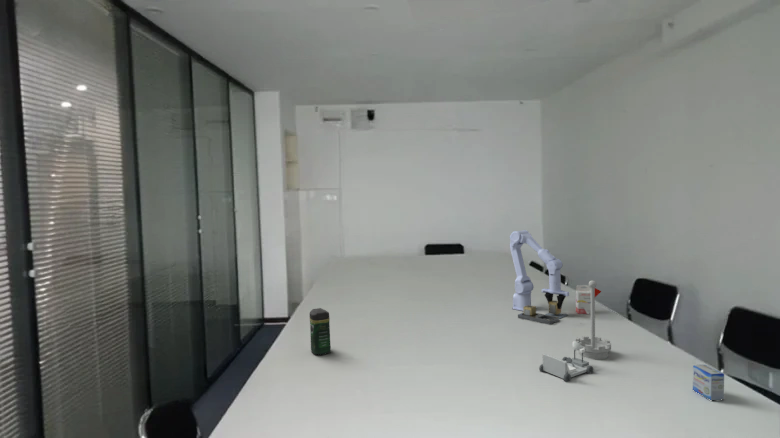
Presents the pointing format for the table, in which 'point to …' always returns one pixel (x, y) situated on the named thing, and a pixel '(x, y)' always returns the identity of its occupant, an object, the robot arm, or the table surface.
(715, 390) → the medicine box
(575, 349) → the toy car
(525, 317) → the grey flat rectangular frame
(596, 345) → the flag stand
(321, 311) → the coffee jar
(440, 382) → the table surface
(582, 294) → the ink cartridge box
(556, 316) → the slate mat
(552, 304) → the gold knob block
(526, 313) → the gold drawer
